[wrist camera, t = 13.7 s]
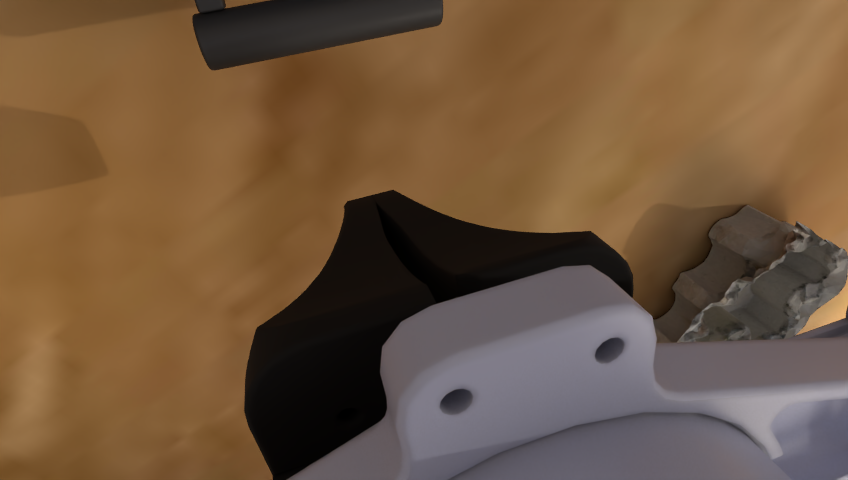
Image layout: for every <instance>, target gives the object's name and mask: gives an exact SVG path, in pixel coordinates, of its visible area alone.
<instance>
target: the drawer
mask: <svg viewBox="0 0 848 480" xmlns="http://www.w3.org/2000/svg"><path fill="white" fill-rule="evenodd" d="M195 3H196V6H197V9H198V11H199V12H200V13H198V14H194V15H193V27H194V31H195V35H196V38H197V41H198V44H199V47H200V50H201V52H202V55H203V57H204V59H205V62H206V63H207V65H208V67H209V68H210V69H211V70H219V69H224V68H229V67H234V66H239V65H244V64H249V63H254V62H259V61H264V60H269V59H274V58H279V57H284V56H289V55H294V54H299V53H304V52H309V51H314V50H319V49H324V48H329V47H334V46H339V45H344V44H349V43H354V42H359V41H364V40H369V39H374V38H379V37H384V36H389V35H394V34H399V33H404V32H409V31H414V30H419V29H424V28H429V27H434V26H438V25H440V24H441V22H442V18H443V0H270V1H264V2H259V3H253V4H248V5H242V6H236V7H231V8H225V7H226V4H225V1H224V0H195ZM224 8H225V9H224Z"/></svg>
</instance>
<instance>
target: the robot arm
mask: <svg viewBox="0 0 848 480" xmlns="http://www.w3.org/2000/svg"><path fill="white" fill-rule="evenodd" d="M344 209H345V212H344V219H343V223H342V227H341V230H340V233H339V237H338V239H337V242H336V244H335V246H334V249H333V251H332V253H331V255H330V257H329V259H328V261H327V263H326V264H325V266H324V268H323V269H322V271H321V272H320V274H319V275H318V276H317V277H316V279H315V280H314V281H313V282H312V283H311V285H310V286H309V287H308V288H307V289H306V290H305V291H304V292H303V293H302V294H301V295H300V296H299V297H298V298H297V299H296V300H294V301H293V302H292V303H291V304H290V305H289V306H287V307H286V308H285V309H284V310H282V311H281V312H279V313H278V314H277V315H275V316H274V317H272V318H271V319H269V320H268V321H266V322H265V323H264V324H262V325H260V326H259V327H257V329H256V332H255V335H254V339H253V343H252V346H251V350H250V355H249V359H248V364H247V370H246V379H245V408H244V411H245V415H246V419H247V422H248V426H249V428H250V430H251V432H252V434H253V436H254V438H255V440H256V442H257V444H258V446H259V448H260V451H261V453H262V455H263V457H264V459H265V461H266V463H267V465H268V467H269V469H270V471H271V473H272V475H273V480H848V307H847V311H846V318H844V319H841V320H839V321H836V322H833V323H830V324H827V325H824V326H822V327H819V328H816V329H813V330H810V331H808V332H805V333H802V334H799V335H796V336H793V337H791V338H788V339H775V340H743V341H710V342H678V343H656V341H657V337H656V333H655V328H654V323H653V318H652V316H651V315H650V314H649V313H648V312H647V311H646V310H645V309H644V308H642V307H641V306H640V305H639V304H638V303H637V302H636V301H635V300H634V299H633V275H632V272H631V270H630V267H629V265H628V263H627V262H626V261H625V260H624V259H623V258H622V257H621V255H620V254H619V253H617V252H616V251H615V250H614V249H613V248H611V247H610V246H609V245H608V244H606V243H605V242H604V241H603V240H601V239H600V238H599V237H598V236H596V235H595V234H594V233H592V232H591V231H583V232H563V233H533V232H518V231H509V230H502V229H495V228H489V227H484V226H480V225H476V224H472V223H468V222H464V221H461V220H458V219H455V218H452V217H450V216H447V215H444V214H442V213H439V212H437V211H434V210H432V209H430V208H428V207H426V206H424V205H421V204H419V203H417V202H415V201H413V200H412V199H410V198H408V197H406V196H404V195H402V194H400V193H398V192H396V191H394V190H390V191H386V192H382V193H378V194H375V195H371V196H367V197H363V198H359V199H355V200H351V201H347V203H346V204H345V206H344Z"/></svg>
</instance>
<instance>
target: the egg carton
mask: <svg viewBox="0 0 848 480" xmlns="http://www.w3.org/2000/svg"><path fill="white" fill-rule="evenodd" d="M709 238H710V239H711V243H712V245H713V246H712V249H711V251H710V253H709V255H708V257H707V258H706V260H705V261H704V262H703V263H702V264H701V265H699V266H697V267H696V268H695V269H692V270H689V271H686V272H682V273H680V276H679V278H678V280H677V281H676V282H675V284H674V286H673V287H672V288H673V291H674V292H675V294H676V297H675V302H674V305H673V306H672V308H671V309H670V310H669V311H668V312H667V313H666V314H665V315H663V316H662V317H660V318H659V319H654V320H653V323H654V328H655V333H656V337H657V341H656V343H678V342H710V341H743V340H775V339H788V338H791V337H793V336H795V335H796V334H797V333H798V332H799V331H800V330H801V329H802V328H803V327H804V326H805V325H806V323H807V321H808V319H809V317H810V316H811V315H812V314H813V313H814V312H815V311H816V310H817V309H818V308H820V307H821V306H822V305H824V304H825V303H827V302H828V301H829V300H831V299H832V298H834V297H835V296H836V295H838V294H839V292H840V291H841V290H842V288H843V287H844V286H845V284H846V280H847V272H848V256H847V252H846V251H845V250H844V249H843V248H839V247H837V246H836V245H835V244H833V243H832V242H830V241H828V240H826V239H825V240H823V239H822V238H820V237H819V236H817V235H816V234H815V233H814V232H813V231H812V230H811V229H809V228H807V227H806V226H804V225H803V224H801V223H799V222H797V221H796V225H795V226H793V225H791V224H789V223H787V222H785V221H782V222H780V221H778V220H776V219H774V218H772V217H770V216H768V215H766V214H764V213H762V212H760V211H758V210H756V209H755V208H753V207H751V206H749V205H746V206H745V207H743V208H742V209H741V210H740V211H739V212H738V213H737V214H736V215H734V216H732V217H729V218H726V219H721V220H719V221H718V222H717V223H716V224H715V225H714V226H713V227H712V228H711V230H710V232H709Z"/></svg>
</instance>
